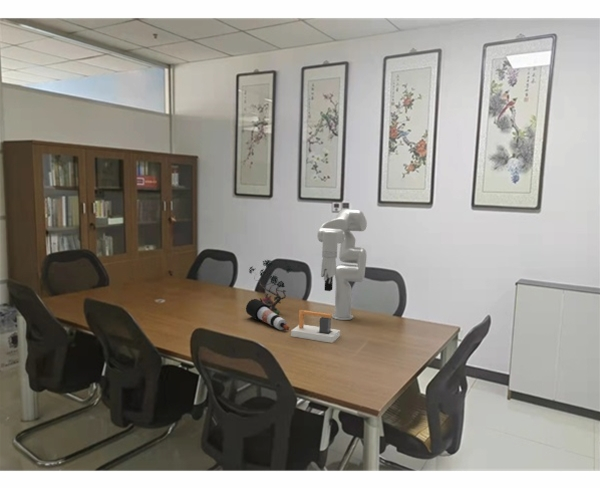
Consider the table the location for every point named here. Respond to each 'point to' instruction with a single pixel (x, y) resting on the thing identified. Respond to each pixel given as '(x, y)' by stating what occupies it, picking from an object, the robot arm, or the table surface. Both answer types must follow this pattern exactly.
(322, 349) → the table surface
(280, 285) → the bonsai tree
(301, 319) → the orange piece
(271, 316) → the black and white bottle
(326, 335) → the socket block
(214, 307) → the table surface
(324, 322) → the plug
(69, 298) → the table surface
